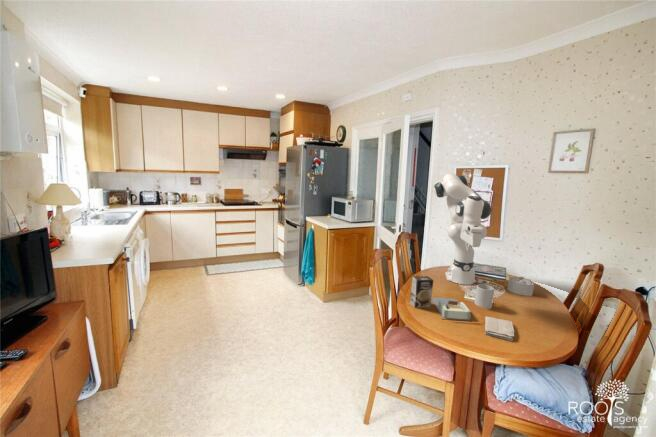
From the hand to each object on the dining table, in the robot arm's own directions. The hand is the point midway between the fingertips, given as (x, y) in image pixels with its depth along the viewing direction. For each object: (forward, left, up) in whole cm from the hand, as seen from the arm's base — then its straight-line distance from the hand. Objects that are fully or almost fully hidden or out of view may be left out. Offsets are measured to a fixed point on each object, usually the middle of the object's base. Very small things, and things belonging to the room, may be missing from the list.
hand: (468, 250), depth 171 cm
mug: (+4, +10, -29) cm, 31 cm away
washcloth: (+31, +6, -30) cm, 43 cm away
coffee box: (+12, -26, -29) cm, 41 cm away
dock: (+13, -11, -29) cm, 34 cm away
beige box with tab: (+20, -11, -28) cm, 36 cm away
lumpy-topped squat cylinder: (-20, +41, -29) cm, 54 cm away
